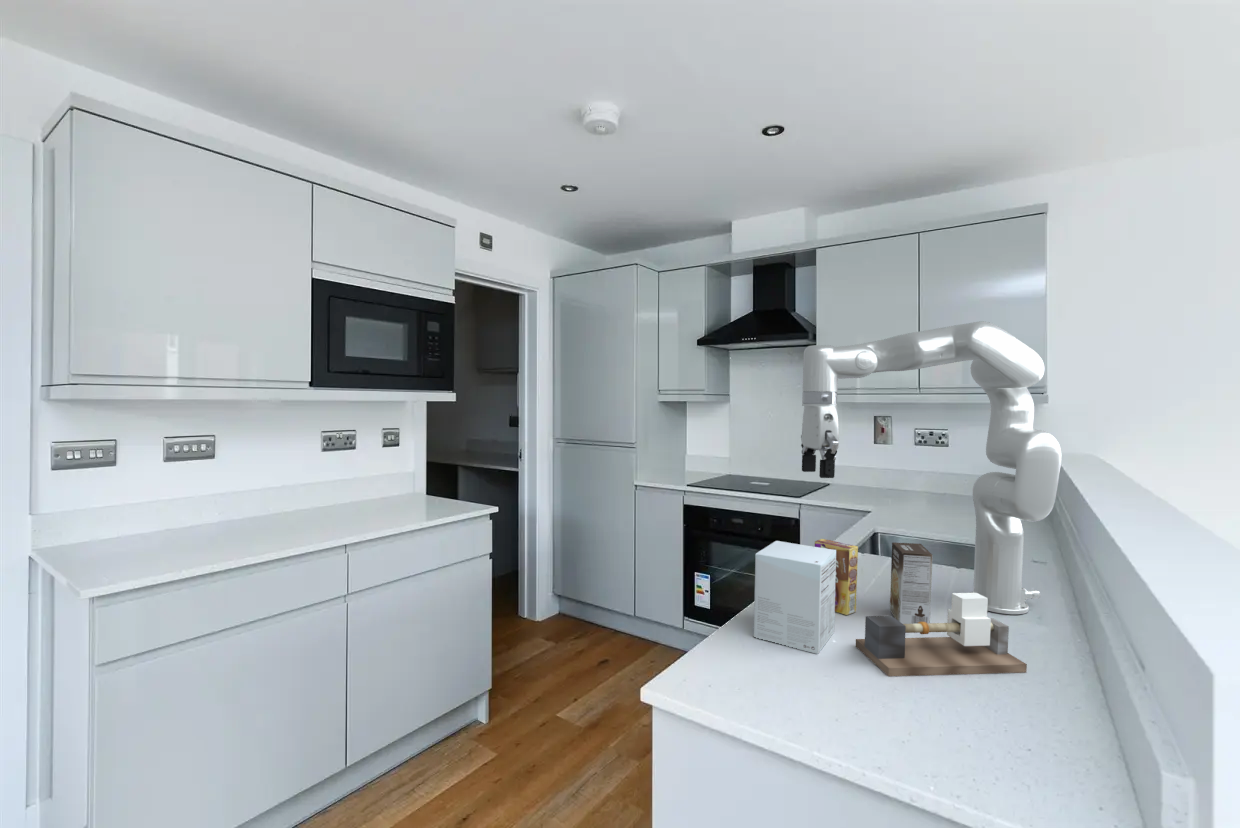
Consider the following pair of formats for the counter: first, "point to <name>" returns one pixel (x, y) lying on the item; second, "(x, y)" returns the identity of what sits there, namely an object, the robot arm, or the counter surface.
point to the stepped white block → (970, 619)
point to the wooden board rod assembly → (934, 649)
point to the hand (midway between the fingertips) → (817, 474)
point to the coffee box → (910, 583)
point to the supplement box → (795, 595)
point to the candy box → (844, 574)
